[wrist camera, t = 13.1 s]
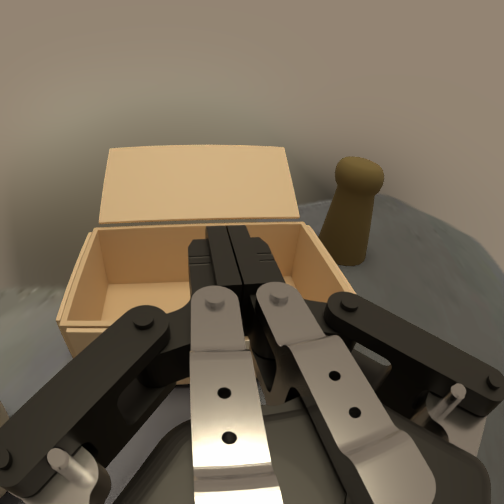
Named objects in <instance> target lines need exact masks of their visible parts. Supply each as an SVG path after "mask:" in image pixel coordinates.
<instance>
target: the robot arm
mask: <svg viewBox="0 0 504 504" xmlns="http://www.w3.org/2000/svg"><path fill="white" fill-rule="evenodd" d="M188 271H189V288H190V300H189V302H188V303H187V304H186V305H185V306H183V307H182V308H180V309H178V310H176V311H173V312H170V313H167V314H166V313H165V312H164V311H163V310H162V309H160V308H158V307H156V306H152V305H141V306H136V307H134V308H131V309H130V310H128V311H127V312H126V313H124V314H123V315H122V316H121V317H120V318H119V319H117V320H116V321H115V322H114V323H113V324H112V325H111V326H109V327H108V328H107V329H106V330H105V331H104V332H103V333H102V334H100V335H99V336H98V337H97V338H96V339H95V340H94V341H93V342H91V343H90V344H89V345H88V346H87V347H86V348H85V349H84V350H82V351H81V352H80V353H79V354H78V355H77V356H76V357H75V358H74V359H73V360H71V361H70V362H69V363H68V364H67V365H66V366H65V367H64V368H63V369H62V370H60V371H59V372H58V373H57V374H56V375H55V376H54V377H53V378H52V379H51V380H50V381H49V382H47V383H46V384H45V385H44V386H43V387H42V388H41V389H40V390H39V391H38V392H37V393H36V394H35V395H34V396H33V397H31V398H30V399H29V400H28V401H27V402H26V403H25V404H24V405H23V406H22V407H21V408H20V409H19V410H18V411H17V412H16V413H15V414H14V415H13V416H12V417H11V418H10V419H8V420H7V421H6V422H5V423H4V424H3V425H2V426H1V427H0V487H2V488H3V489H5V490H7V491H8V492H9V493H11V494H12V495H14V496H15V497H17V498H19V499H21V500H22V501H23V502H24V503H25V504H104V503H105V500H106V498H107V497H108V495H109V493H110V490H111V479H110V476H109V474H108V472H107V470H106V469H105V468H106V467H107V466H108V465H109V464H110V462H111V461H112V460H113V459H114V458H115V457H116V456H117V454H118V453H119V452H120V451H121V450H122V449H123V447H124V446H125V445H126V444H127V443H128V442H129V441H130V439H131V438H132V437H133V436H134V435H135V434H136V432H137V431H138V430H139V429H140V428H141V426H142V425H143V424H144V423H145V422H146V421H147V419H148V418H149V417H150V416H151V415H152V414H153V412H154V411H155V410H156V409H157V408H158V406H159V405H160V404H161V403H162V402H163V400H164V399H165V398H166V397H167V396H168V394H169V393H170V392H171V391H172V390H173V388H174V387H175V385H176V383H177V381H180V380H183V379H185V378H188V377H190V403H191V419H190V420H188V421H185V422H183V423H181V424H180V425H178V426H176V427H175V428H173V429H172V430H171V431H170V432H168V433H167V434H166V435H165V436H164V437H163V438H162V439H161V441H160V442H159V443H158V444H157V446H156V447H155V448H154V450H153V451H152V452H151V454H150V455H149V456H148V458H147V459H146V461H145V462H144V463H143V465H142V466H141V467H140V469H139V470H138V471H137V472H136V474H135V475H134V476H133V478H132V479H131V480H130V482H129V483H128V484H127V486H126V487H125V488H124V490H123V491H122V492H121V493H120V495H119V496H118V497H117V499H116V500H115V501H114V502H113V504H491V484H490V478H489V475H488V472H487V470H486V468H485V466H484V465H483V463H482V462H481V461H480V460H479V459H478V458H477V457H476V456H477V452H478V449H479V445H480V442H481V438H482V434H483V430H484V426H485V421H486V417H487V415H488V414H489V413H490V412H491V411H492V410H493V409H495V408H496V407H497V406H498V405H499V404H500V403H501V402H502V401H503V400H504V376H503V375H502V374H501V373H500V372H499V371H498V370H497V369H495V368H493V367H491V366H490V365H488V364H486V363H484V362H482V361H480V360H479V359H477V358H475V357H473V356H471V355H469V354H467V353H466V352H464V351H462V350H460V349H458V348H456V347H454V346H453V345H451V344H449V343H447V342H445V341H443V340H441V339H439V338H438V337H436V336H434V335H432V334H430V333H428V332H426V331H424V330H423V329H421V328H419V327H417V326H415V325H413V324H411V323H409V322H407V321H406V320H404V319H402V318H400V317H398V316H396V315H394V314H392V313H390V312H389V311H387V310H385V309H383V308H381V307H379V306H377V305H375V304H373V303H371V302H370V301H368V300H366V299H364V298H362V297H360V296H358V295H356V294H354V293H350V292H336V293H334V294H332V295H331V296H330V297H329V298H328V301H327V303H325V302H318V301H311V300H306V299H303V298H302V296H301V294H300V293H299V291H298V290H297V289H296V288H294V287H293V286H291V285H289V284H286V282H285V280H284V278H283V276H282V274H281V271H280V269H279V267H278V265H277V263H276V261H275V258H274V256H273V254H272V252H271V250H270V248H269V246H268V244H267V243H266V242H265V241H263V240H262V239H261V238H260V237H250V235H249V232H248V230H247V227H246V225H226V226H225V225H223V226H206V229H205V239H193V240H192V242H191V243H190V245H189V246H188ZM245 336H248V338H249V341H250V346H249V349H246V345H245V338H244V337H245ZM356 342H357V343H359V344H361V345H363V346H364V347H366V348H368V349H370V350H371V351H373V352H375V353H377V354H379V355H380V356H382V357H384V358H386V359H387V360H388V361H389V362H390V363H391V365H389V366H384V365H381V364H380V363H378V362H376V361H374V360H372V359H371V358H369V357H367V356H365V355H364V354H362V353H360V352H358V351H356V350H355V349H353V348H354V346H355V344H356ZM254 370H255V371H254ZM255 373H256V375H257V378H258V381H259V383H260V386H261V389H262V391H263V394H264V397H265V400H266V405H260V399H259V394H258V388H257V382H256V377H255Z"/></svg>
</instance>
